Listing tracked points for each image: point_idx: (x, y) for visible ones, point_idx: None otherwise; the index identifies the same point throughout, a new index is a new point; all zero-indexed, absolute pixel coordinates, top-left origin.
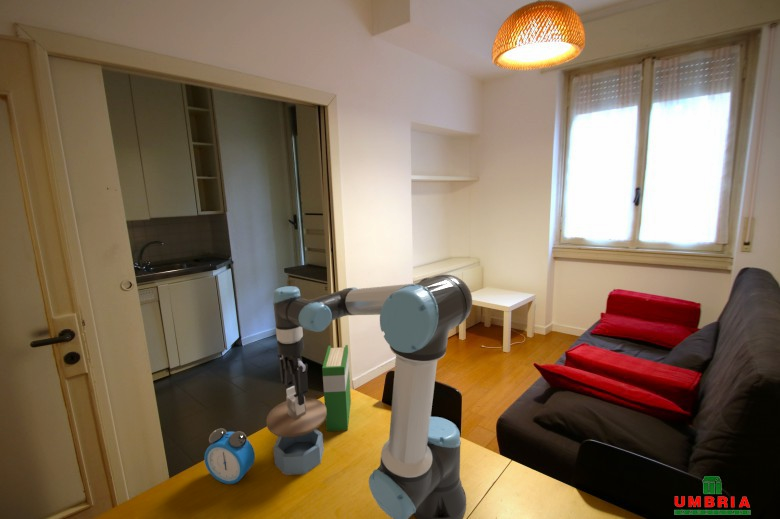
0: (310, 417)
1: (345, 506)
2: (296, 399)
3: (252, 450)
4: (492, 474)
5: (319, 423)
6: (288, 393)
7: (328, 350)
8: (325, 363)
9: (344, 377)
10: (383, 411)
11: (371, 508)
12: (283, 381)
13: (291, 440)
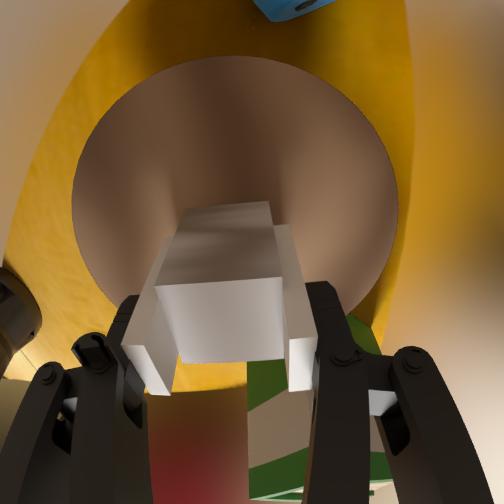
0: None
1: (34, 185)
2: (133, 319)
3: (270, 4)
4: (37, 366)
5: (99, 282)
6: (284, 313)
7: None
8: None
9: (249, 460)
10: (245, 377)
11: (18, 223)
12: (397, 385)
13: None
